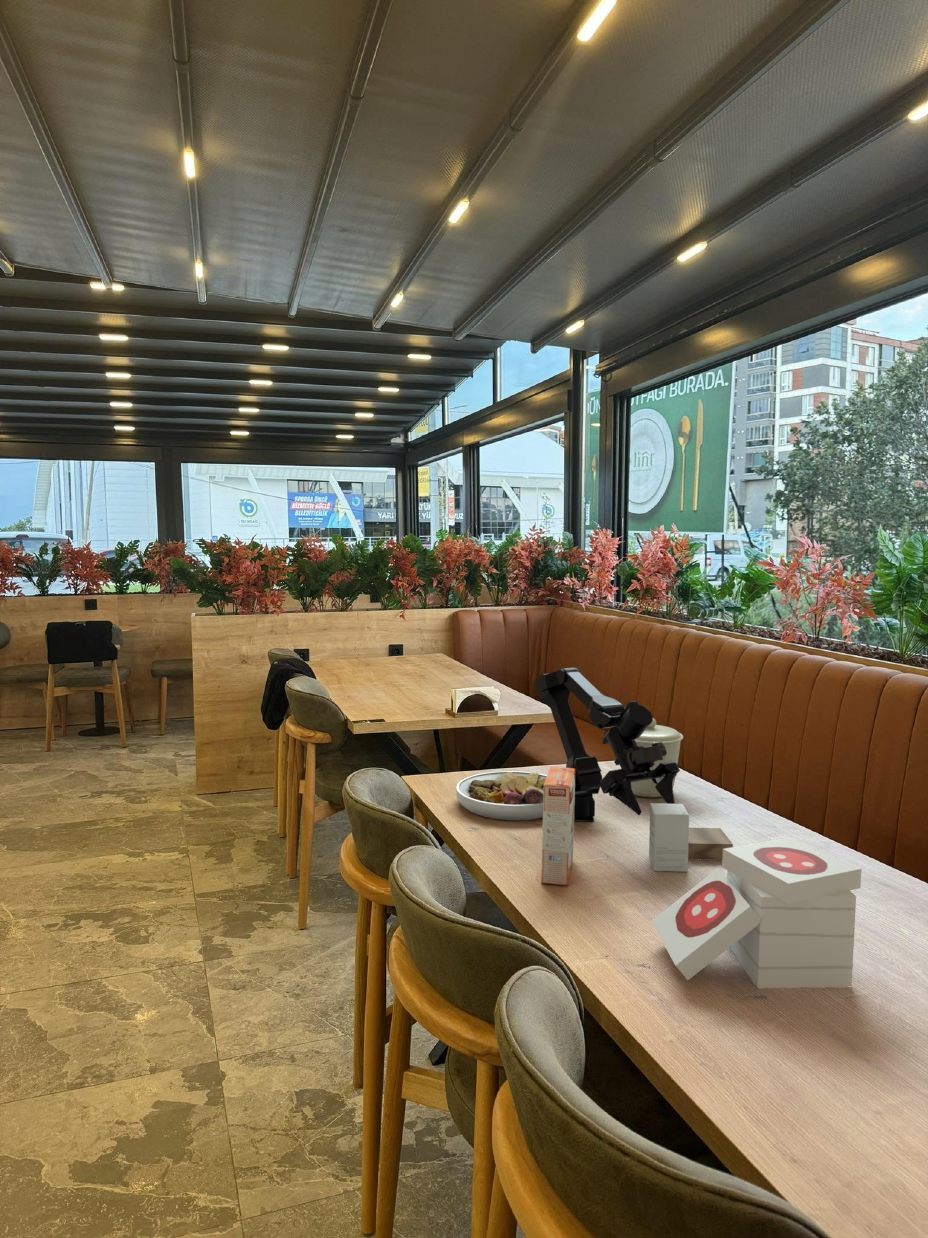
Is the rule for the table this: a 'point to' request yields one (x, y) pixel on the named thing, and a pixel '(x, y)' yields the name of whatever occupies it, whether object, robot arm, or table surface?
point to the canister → (672, 746)
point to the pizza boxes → (769, 916)
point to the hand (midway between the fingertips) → (657, 811)
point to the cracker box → (558, 825)
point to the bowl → (503, 795)
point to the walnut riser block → (707, 843)
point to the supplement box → (669, 837)
